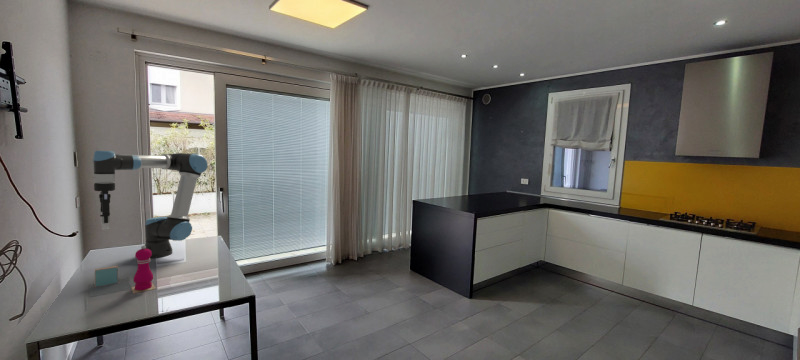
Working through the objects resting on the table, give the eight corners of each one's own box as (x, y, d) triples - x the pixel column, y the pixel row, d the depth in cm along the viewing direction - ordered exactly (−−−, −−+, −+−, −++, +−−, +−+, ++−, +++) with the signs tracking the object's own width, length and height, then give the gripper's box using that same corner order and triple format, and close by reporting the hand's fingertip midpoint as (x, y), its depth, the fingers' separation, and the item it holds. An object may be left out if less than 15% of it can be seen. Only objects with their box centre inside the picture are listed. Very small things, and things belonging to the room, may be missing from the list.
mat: (127, 278, 160) (127, 278, 160) (131, 289, 148) (131, 289, 148) (88, 285, 150) (88, 284, 150) (89, 297, 138) (89, 297, 138)
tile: (117, 281, 155) (117, 265, 154) (118, 283, 154) (117, 266, 153) (94, 285, 149) (94, 269, 149) (95, 287, 148) (94, 270, 147)
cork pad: (152, 284, 155) (152, 283, 155) (155, 289, 149) (155, 288, 149) (131, 288, 149) (131, 287, 149) (133, 294, 144) (133, 292, 144)
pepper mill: (129, 288, 147) (129, 246, 146) (147, 283, 154) (147, 242, 153) (139, 291, 145) (139, 248, 144) (156, 286, 151) (157, 244, 150)
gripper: (93, 180, 161) (93, 223, 162) (94, 185, 144) (95, 233, 146) (113, 180, 166) (113, 222, 168) (117, 184, 150) (117, 230, 151)
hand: (105, 227), depth 157 cm, fingers open, 11 cm apart
